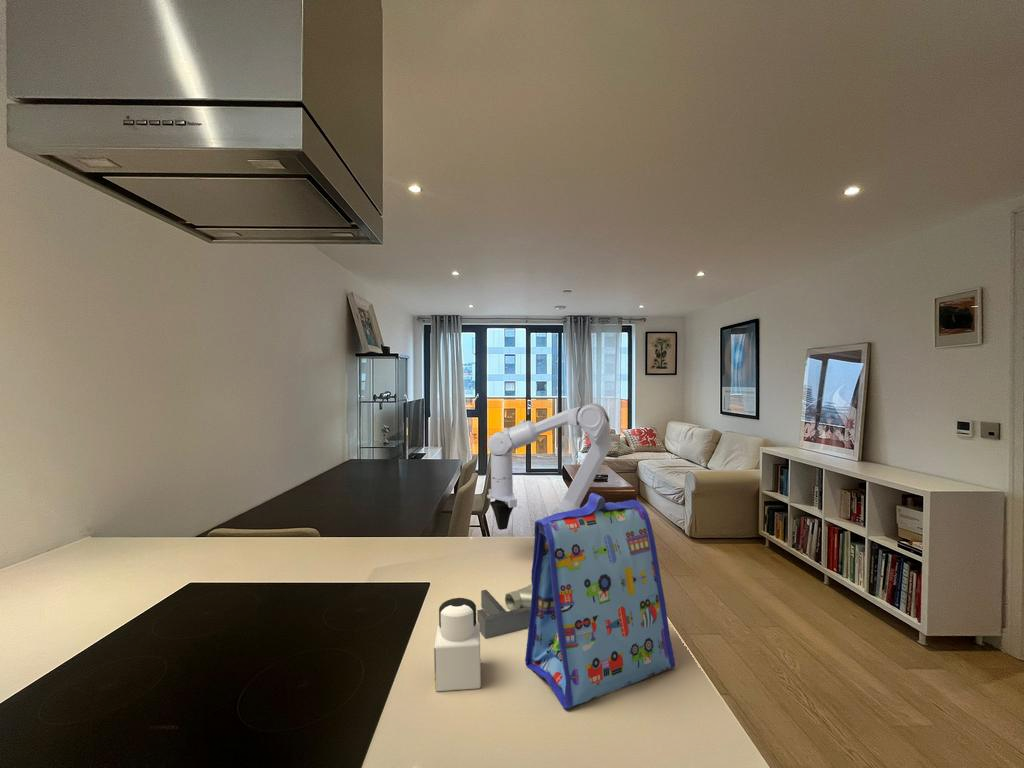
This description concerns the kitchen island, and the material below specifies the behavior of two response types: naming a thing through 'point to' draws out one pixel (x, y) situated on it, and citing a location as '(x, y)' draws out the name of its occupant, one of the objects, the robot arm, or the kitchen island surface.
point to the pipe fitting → (519, 598)
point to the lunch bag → (596, 601)
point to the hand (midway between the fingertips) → (502, 528)
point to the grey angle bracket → (500, 617)
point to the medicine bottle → (457, 646)
